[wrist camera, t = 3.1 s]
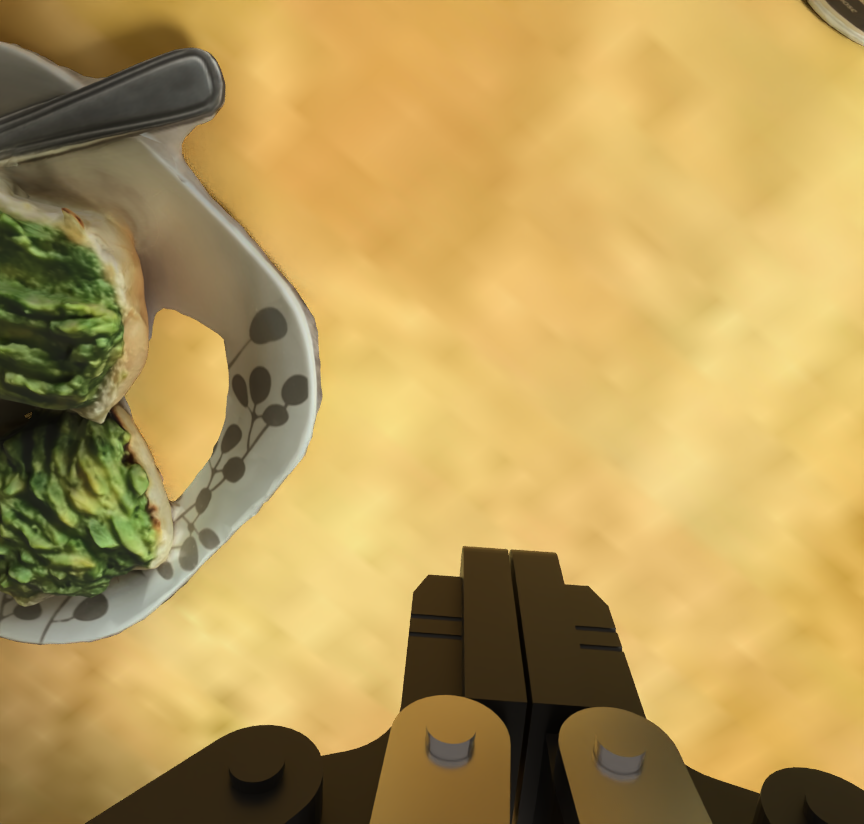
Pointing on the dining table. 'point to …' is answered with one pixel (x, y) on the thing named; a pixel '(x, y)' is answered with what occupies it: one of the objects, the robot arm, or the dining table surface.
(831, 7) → the coffee can
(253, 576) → the dining table surface
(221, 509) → the salad plate
